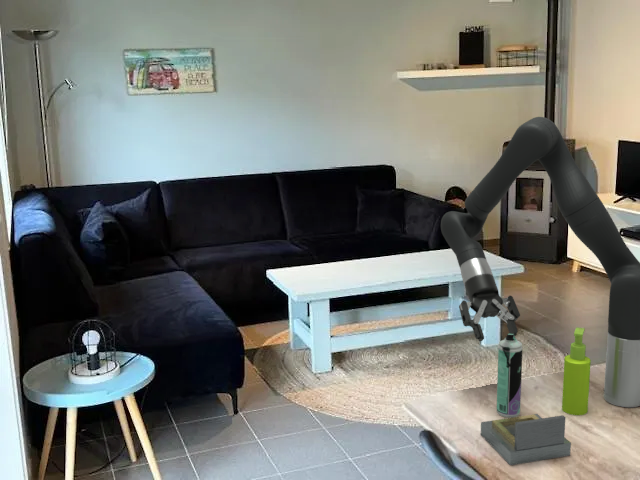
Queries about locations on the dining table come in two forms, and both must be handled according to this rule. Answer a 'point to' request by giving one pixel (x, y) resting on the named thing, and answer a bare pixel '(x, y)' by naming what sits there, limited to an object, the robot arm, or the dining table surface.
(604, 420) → the dining table surface
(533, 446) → the grey and tan frame
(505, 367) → the spray can
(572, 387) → the soap dispenser
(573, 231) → the robot arm
